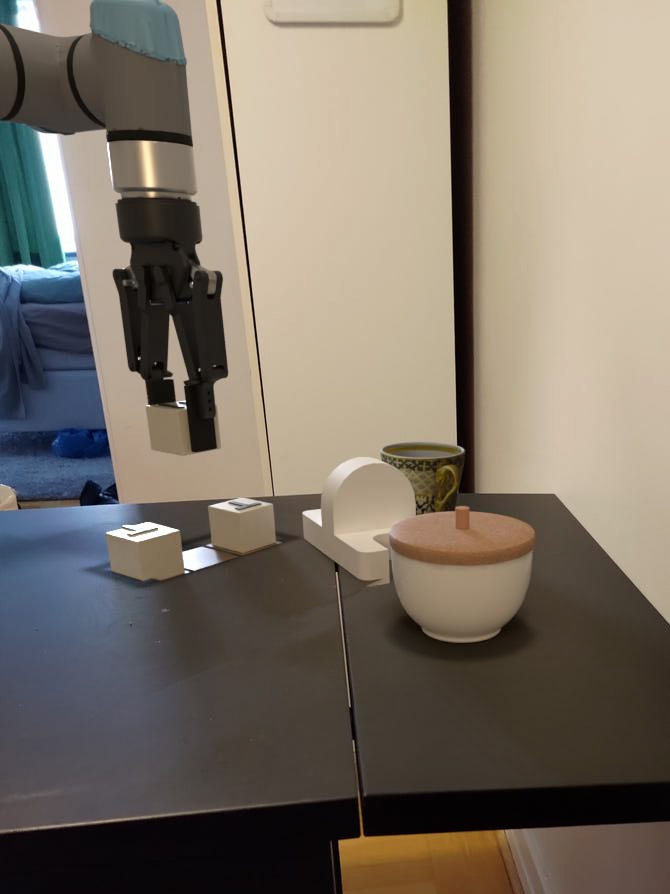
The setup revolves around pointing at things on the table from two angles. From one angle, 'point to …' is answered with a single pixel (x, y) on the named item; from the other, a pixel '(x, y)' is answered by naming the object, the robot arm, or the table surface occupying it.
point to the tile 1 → (146, 551)
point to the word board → (210, 557)
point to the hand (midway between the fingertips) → (185, 446)
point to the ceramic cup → (429, 472)
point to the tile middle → (173, 428)
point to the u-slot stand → (360, 516)
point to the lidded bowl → (461, 571)
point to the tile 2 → (242, 524)
